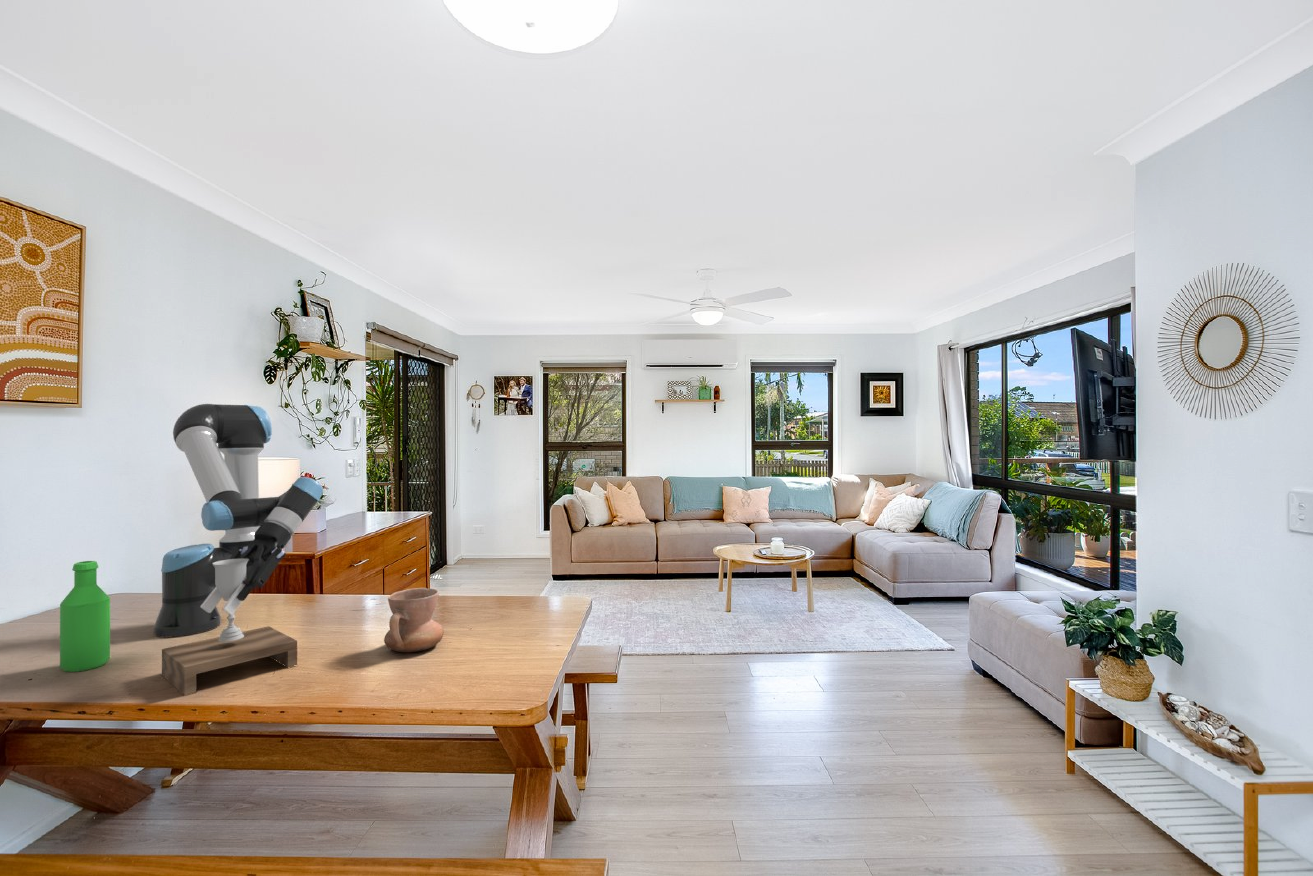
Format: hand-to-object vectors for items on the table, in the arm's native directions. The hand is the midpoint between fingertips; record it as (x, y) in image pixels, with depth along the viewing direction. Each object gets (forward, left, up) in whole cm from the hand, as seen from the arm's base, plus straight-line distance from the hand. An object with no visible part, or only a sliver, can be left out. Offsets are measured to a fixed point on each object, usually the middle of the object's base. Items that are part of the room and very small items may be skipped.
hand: (216, 610), depth 141 cm
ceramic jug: (+18, +38, -15) cm, 45 cm away
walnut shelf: (-1, +3, -15) cm, 15 cm away
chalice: (-1, +3, -8) cm, 8 cm away
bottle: (-32, -18, -15) cm, 39 cm away
